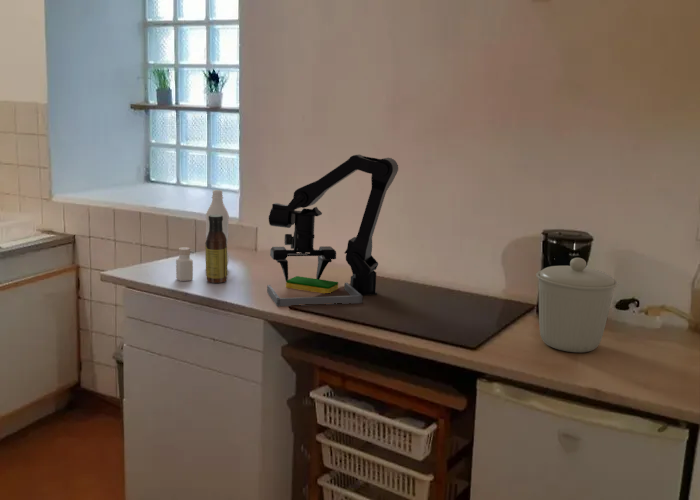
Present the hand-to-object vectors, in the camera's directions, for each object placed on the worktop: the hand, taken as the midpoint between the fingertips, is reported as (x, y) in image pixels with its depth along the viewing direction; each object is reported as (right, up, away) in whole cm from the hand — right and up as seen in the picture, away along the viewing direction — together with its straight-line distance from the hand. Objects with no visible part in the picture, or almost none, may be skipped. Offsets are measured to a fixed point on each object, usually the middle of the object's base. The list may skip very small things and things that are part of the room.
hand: (302, 281), depth 212 cm
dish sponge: (+3, -2, -2) cm, 5 cm away
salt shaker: (-35, 0, 0) cm, 35 cm away
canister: (+66, -13, -44) cm, 80 cm away
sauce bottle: (-25, 0, 0) cm, 25 cm away
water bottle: (-28, +3, +15) cm, 32 cm away
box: (+4, -4, -13) cm, 14 cm away
